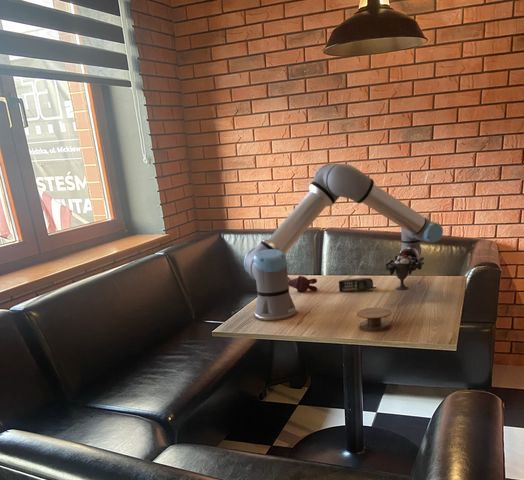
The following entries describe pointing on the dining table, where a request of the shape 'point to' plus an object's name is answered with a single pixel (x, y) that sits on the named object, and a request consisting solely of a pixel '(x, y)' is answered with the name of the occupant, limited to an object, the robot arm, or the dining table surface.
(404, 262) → the sundae
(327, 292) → the dining table surface
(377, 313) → the stand
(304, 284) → the chocolate bunny
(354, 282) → the mobile phone
